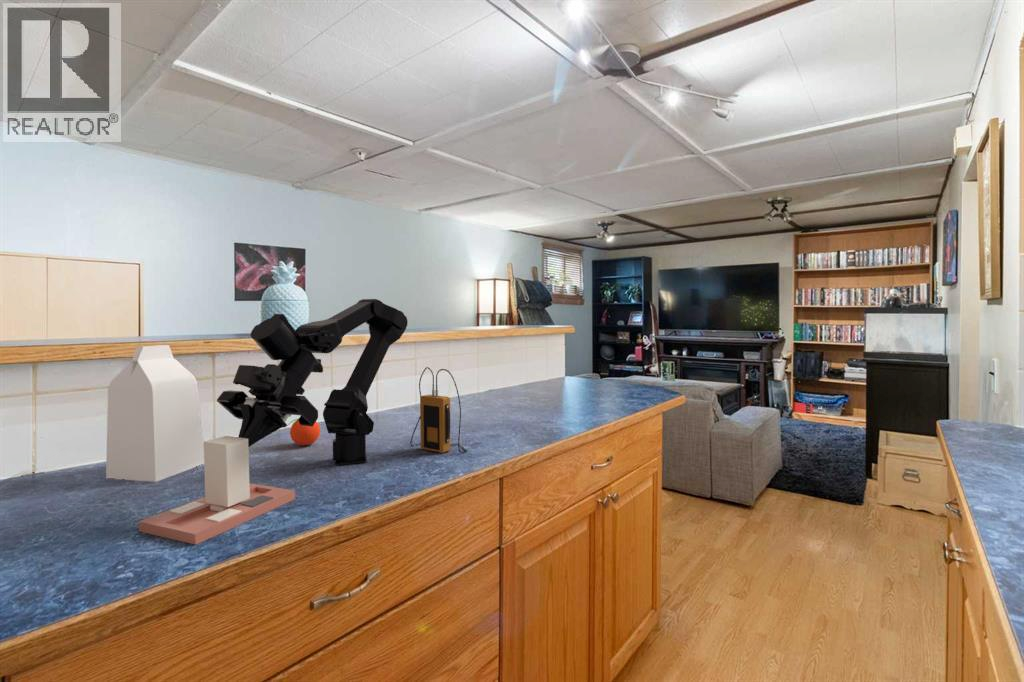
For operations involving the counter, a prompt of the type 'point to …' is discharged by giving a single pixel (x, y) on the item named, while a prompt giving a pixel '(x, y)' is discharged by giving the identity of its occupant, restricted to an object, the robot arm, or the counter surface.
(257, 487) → the switch block
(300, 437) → the clementine
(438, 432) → the multimeter
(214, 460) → the switch tab
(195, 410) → the milk
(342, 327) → the robot arm
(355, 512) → the counter surface
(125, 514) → the counter surface
